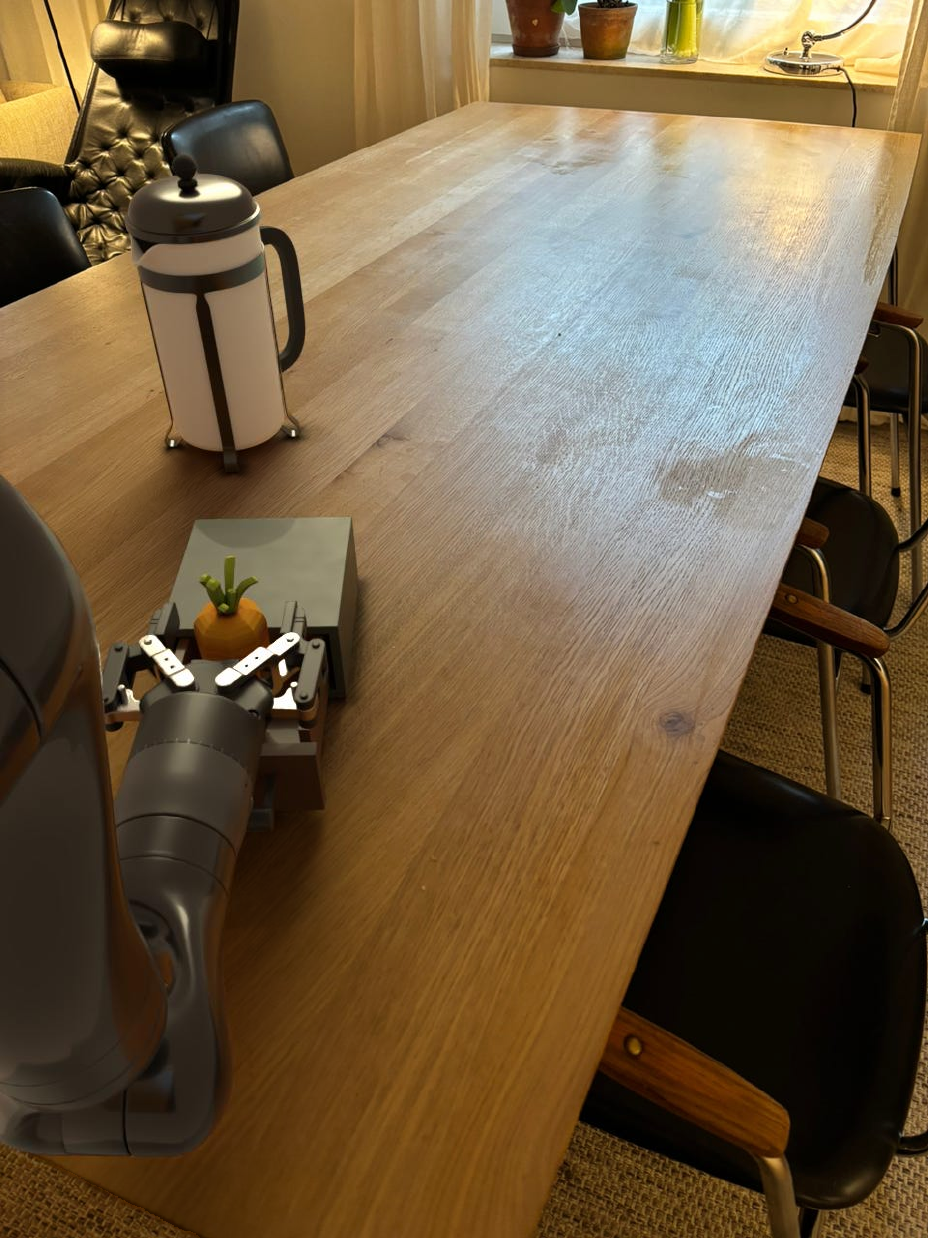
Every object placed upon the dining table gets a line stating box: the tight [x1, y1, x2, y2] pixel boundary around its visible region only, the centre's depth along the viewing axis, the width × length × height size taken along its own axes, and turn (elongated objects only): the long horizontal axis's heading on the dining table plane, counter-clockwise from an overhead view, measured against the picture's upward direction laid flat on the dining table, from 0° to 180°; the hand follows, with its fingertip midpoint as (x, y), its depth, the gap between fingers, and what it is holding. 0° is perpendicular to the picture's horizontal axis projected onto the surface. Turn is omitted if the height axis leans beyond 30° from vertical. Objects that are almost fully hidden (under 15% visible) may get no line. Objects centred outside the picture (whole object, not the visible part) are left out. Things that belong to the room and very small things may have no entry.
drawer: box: [174, 634, 331, 832], centre depth 72 cm, size 18×12×6 cm
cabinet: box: [167, 516, 360, 699], centre depth 83 cm, size 15×14×8 cm
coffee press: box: [123, 153, 307, 473], centre depth 102 cm, size 17×16×30 cm
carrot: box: [194, 556, 270, 680], centre depth 70 cm, size 5×5×15 cm
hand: (232, 610), depth 70 cm, fingers open, 8 cm apart
